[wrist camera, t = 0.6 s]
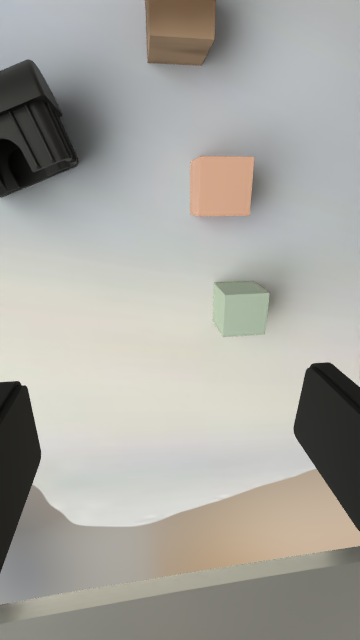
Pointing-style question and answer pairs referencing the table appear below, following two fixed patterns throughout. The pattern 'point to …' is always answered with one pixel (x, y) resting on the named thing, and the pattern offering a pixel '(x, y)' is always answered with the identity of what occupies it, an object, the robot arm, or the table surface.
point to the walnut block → (179, 30)
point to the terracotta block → (221, 186)
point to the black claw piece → (30, 130)
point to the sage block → (240, 308)
